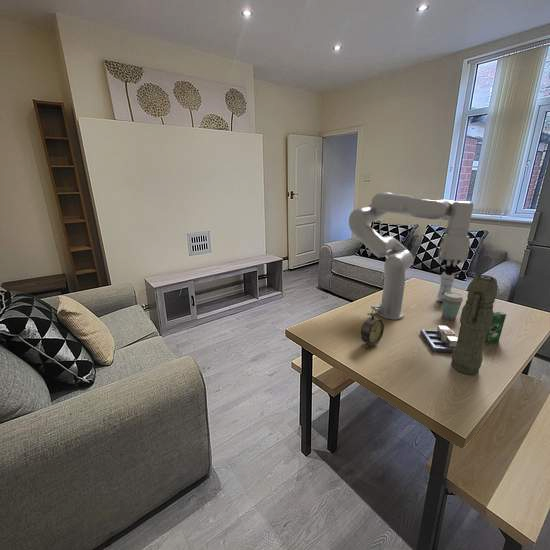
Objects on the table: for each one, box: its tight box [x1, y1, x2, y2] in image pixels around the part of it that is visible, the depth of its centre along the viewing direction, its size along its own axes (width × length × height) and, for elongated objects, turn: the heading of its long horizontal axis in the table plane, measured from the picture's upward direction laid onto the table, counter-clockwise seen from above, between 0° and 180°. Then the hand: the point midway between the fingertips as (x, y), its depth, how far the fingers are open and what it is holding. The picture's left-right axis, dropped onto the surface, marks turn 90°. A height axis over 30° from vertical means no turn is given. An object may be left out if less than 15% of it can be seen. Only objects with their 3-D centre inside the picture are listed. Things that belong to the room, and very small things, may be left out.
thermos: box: [450, 274, 499, 377], centre depth 100 cm, size 9×12×35 cm
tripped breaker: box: [441, 329, 456, 342], centre depth 120 cm, size 4×3×5 cm
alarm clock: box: [360, 309, 385, 350], centre depth 119 cm, size 11×5×16 cm, turn 129°
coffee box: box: [484, 311, 507, 345], centre depth 120 cm, size 8×3×13 cm, turn 106°
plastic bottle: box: [436, 271, 455, 303], centre depth 159 cm, size 6×7×20 cm
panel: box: [419, 324, 458, 355], centre depth 120 cm, size 11×15×5 cm
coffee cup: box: [441, 291, 464, 321], centre depth 142 cm, size 8×8×12 cm
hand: (448, 274), depth 125 cm, fingers closed
